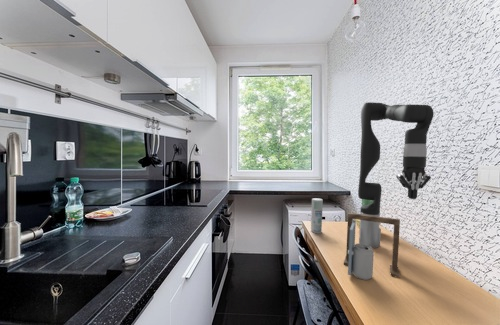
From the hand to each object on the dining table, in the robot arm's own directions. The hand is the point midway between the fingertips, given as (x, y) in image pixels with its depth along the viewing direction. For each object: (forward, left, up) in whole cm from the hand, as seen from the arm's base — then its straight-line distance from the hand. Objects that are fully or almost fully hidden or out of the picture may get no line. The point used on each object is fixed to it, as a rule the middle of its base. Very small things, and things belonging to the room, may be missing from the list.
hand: (412, 198), depth 93 cm
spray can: (+22, -50, -31) cm, 63 cm away
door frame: (+12, -6, -31) cm, 34 cm away
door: (+22, -3, -30) cm, 37 cm away
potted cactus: (-10, -50, -31) cm, 60 cm away
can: (+20, +1, -31) cm, 37 cm away
